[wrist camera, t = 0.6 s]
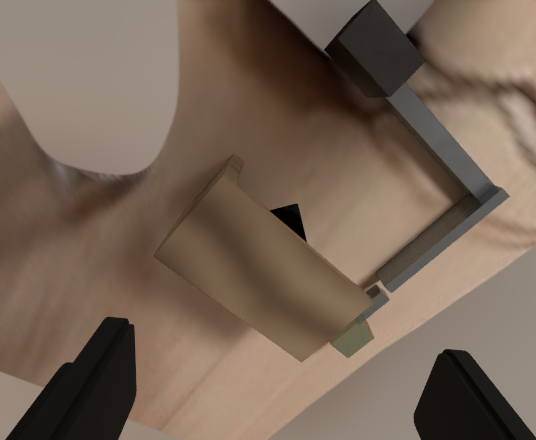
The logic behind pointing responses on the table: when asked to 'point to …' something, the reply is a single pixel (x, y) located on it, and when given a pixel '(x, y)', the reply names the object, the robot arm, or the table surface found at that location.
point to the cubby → (260, 268)
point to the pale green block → (359, 326)
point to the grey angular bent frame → (419, 124)
